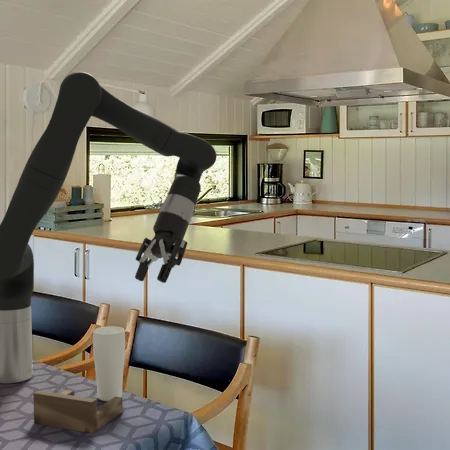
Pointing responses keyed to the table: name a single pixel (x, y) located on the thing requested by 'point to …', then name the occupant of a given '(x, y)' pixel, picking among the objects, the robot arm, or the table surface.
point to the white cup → (109, 361)
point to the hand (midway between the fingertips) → (149, 280)
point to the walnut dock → (73, 411)
